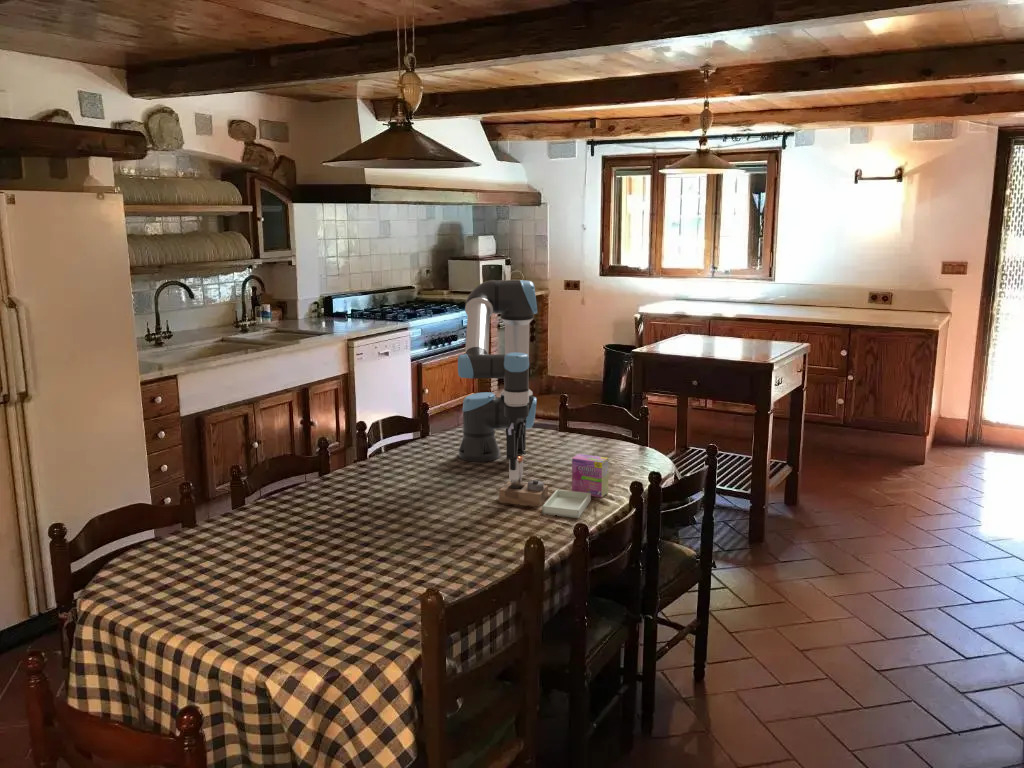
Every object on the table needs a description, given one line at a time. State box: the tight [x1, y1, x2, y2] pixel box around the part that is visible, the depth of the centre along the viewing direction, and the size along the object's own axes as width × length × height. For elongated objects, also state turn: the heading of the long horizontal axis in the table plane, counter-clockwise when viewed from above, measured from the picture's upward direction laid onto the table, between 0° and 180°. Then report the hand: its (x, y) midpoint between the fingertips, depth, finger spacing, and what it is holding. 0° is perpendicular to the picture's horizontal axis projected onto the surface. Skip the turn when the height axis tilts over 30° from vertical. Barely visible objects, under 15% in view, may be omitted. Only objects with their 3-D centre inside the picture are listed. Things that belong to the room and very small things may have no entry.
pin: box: [510, 454, 524, 490], centre depth 255 cm, size 4×4×12 cm
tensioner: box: [498, 479, 549, 508], centre depth 255 cm, size 9×13×7 cm
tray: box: [541, 489, 592, 519], centre depth 249 cm, size 16×11×2 cm
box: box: [571, 453, 610, 498], centre depth 261 cm, size 10×6×12 cm, turn 62°
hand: (516, 476), depth 255 cm, fingers closed on pin, 4 cm apart
